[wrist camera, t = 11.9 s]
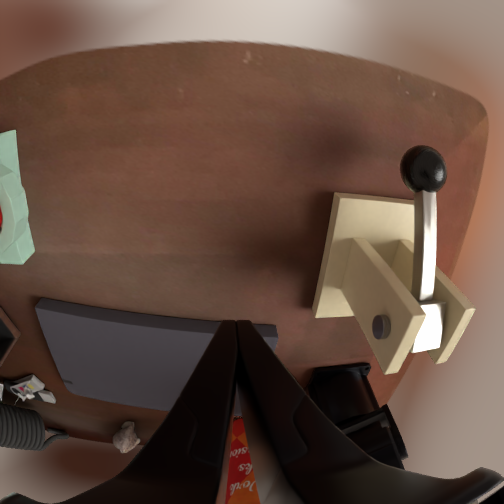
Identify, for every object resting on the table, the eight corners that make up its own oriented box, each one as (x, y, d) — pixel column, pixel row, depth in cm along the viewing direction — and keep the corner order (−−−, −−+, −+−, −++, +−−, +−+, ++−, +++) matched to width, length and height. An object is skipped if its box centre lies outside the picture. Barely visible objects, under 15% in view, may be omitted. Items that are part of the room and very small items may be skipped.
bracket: (334, 191, 20) (407, 266, 11) (424, 201, 21) (509, 264, 12) (311, 308, 25) (346, 406, 16) (392, 304, 25) (442, 384, 17)
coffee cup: (290, 412, 32) (312, 524, 19) (272, 440, 36) (286, 534, 23) (221, 410, 31) (227, 531, 18) (213, 438, 35) (216, 538, 22)
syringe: (18, 393, 28) (29, 404, 28) (11, 400, 26) (21, 412, 26) (35, 367, 26) (47, 381, 26) (25, 376, 24) (38, 390, 24)
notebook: (276, 325, 25) (41, 297, 22) (279, 337, 24) (34, 307, 21) (252, 405, 31) (71, 382, 28) (253, 416, 30) (68, 392, 26)
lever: (389, 148, 16) (416, 134, 13) (425, 155, 17) (454, 145, 14) (384, 340, 17) (409, 356, 14) (420, 335, 17) (447, 348, 14)
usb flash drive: (11, 388, 29) (9, 393, 28) (-5, 364, 26) (-8, 369, 25) (57, 399, 30) (55, 405, 29) (42, 375, 27) (39, 381, 26)
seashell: (108, 429, 34) (99, 448, 30) (134, 412, 32) (126, 434, 28) (132, 445, 35) (126, 464, 31) (162, 430, 33) (156, 452, 29)
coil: (49, 434, 35) (53, 478, 28) (-45, 373, 22) (-55, 424, 15) (74, 424, 35) (79, 471, 29) (-27, 357, 23) (-38, 413, 16)
